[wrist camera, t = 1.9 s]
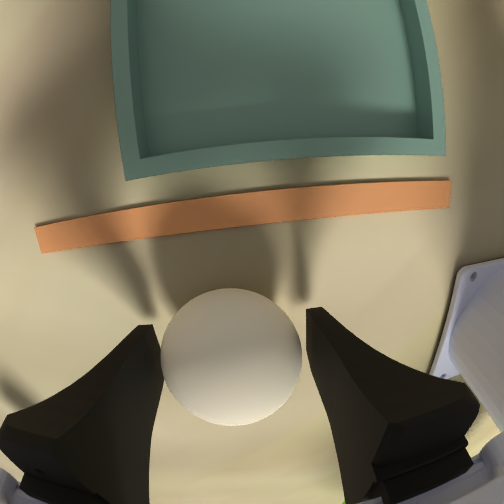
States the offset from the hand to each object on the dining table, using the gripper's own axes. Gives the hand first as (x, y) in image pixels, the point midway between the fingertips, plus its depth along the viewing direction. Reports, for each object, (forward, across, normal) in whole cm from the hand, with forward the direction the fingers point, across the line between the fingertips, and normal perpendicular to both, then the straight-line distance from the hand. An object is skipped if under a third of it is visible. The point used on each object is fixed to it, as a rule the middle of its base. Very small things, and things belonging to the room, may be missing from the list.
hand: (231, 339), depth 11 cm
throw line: (+1, -1, -5) cm, 5 cm away
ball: (+1, 0, 0) cm, 1 cm away
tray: (+1, -3, -12) cm, 12 cm away
